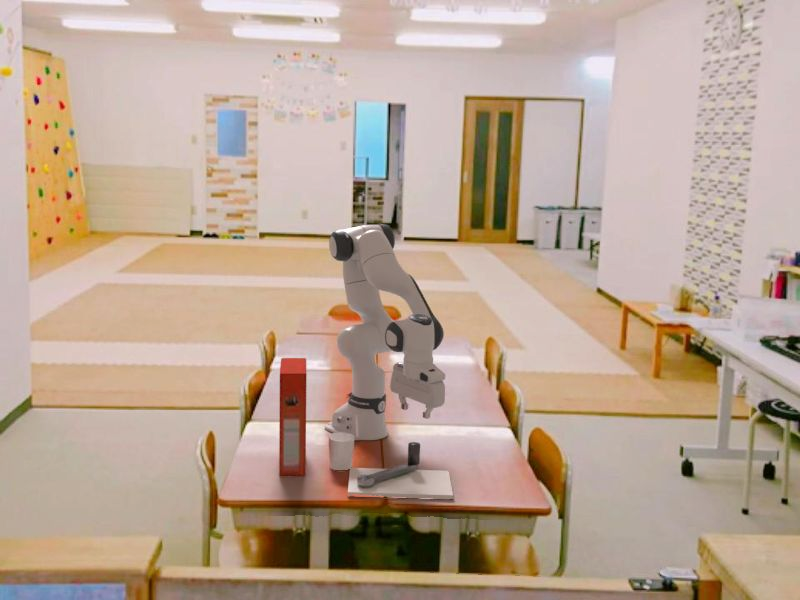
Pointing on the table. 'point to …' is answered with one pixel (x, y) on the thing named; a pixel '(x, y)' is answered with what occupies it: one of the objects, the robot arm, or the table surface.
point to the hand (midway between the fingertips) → (415, 413)
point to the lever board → (404, 484)
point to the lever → (395, 471)
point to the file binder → (292, 417)
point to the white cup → (341, 450)
